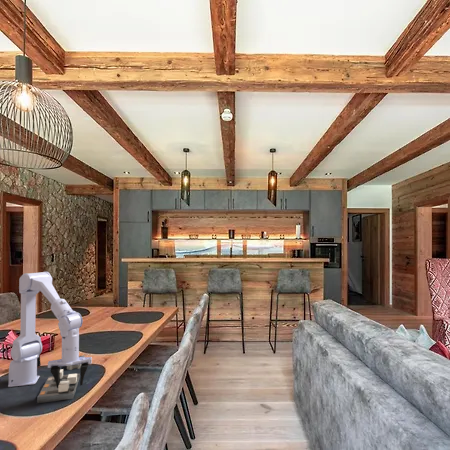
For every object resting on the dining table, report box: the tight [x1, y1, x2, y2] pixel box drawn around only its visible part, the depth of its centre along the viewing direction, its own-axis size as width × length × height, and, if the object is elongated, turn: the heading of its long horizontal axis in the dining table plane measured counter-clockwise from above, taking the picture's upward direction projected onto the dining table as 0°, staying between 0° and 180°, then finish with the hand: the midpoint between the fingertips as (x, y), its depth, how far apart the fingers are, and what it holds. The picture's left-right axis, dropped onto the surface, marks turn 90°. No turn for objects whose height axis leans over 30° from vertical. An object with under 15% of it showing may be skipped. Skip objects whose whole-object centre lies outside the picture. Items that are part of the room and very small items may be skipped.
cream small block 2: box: [67, 373, 78, 384], centre depth 134 cm, size 3×4×2 cm
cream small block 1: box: [58, 381, 69, 392], centre depth 127 cm, size 3×4×2 cm
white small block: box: [53, 368, 64, 379], centre depth 139 cm, size 3×4×2 cm
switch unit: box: [36, 372, 81, 404], centre depth 133 cm, size 12×19×2 cm, turn 16°
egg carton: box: [66, 354, 86, 371], centre depth 159 cm, size 11×8×4 cm
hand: (70, 385), depth 128 cm, fingers open, 7 cm apart
